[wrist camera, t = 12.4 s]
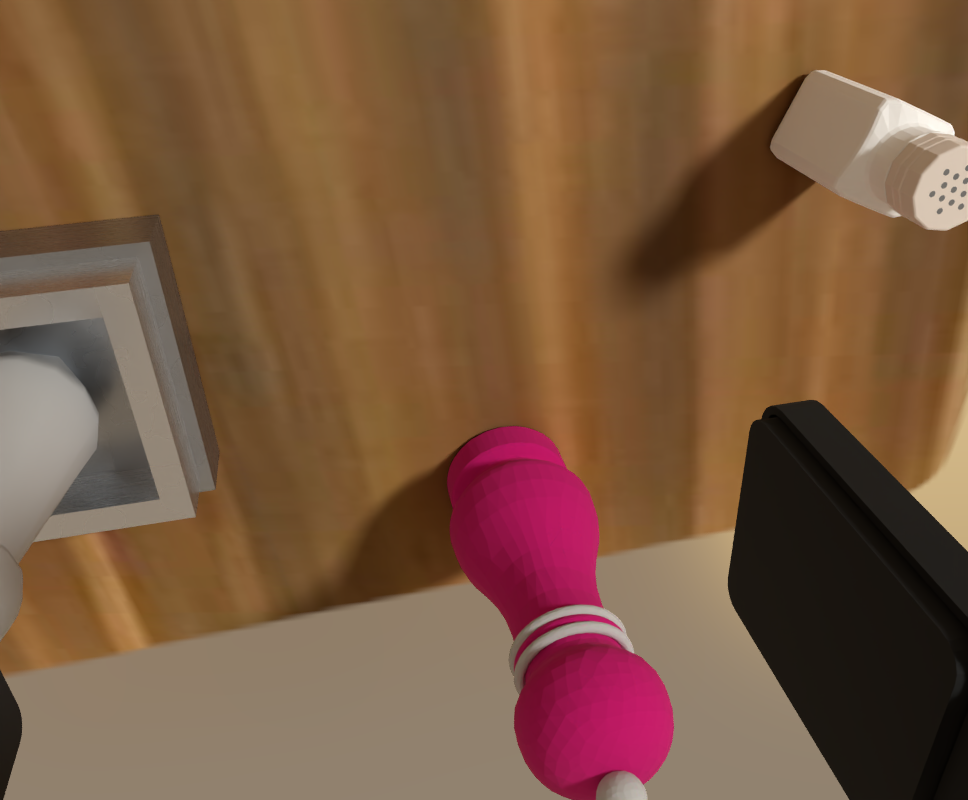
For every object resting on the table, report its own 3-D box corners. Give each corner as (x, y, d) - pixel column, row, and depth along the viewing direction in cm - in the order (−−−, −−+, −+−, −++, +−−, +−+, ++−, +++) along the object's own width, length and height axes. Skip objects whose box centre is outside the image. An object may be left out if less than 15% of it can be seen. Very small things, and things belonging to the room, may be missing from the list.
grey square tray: (-182, 250, 34) (-254, 312, 29) (158, 214, 36) (140, 267, 31) (-64, 493, 40) (-108, 574, 36) (219, 451, 42) (211, 524, 37)
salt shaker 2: (827, 177, 41) (959, 255, 33) (759, 149, 39) (880, 223, 31) (876, 95, 39) (1027, 155, 31) (807, 62, 38) (947, 116, 30)
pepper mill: (595, 442, 46) (771, 771, 30) (526, 541, 49) (652, 893, 32) (479, 397, 43) (602, 734, 27) (413, 504, 46) (487, 871, 29)
